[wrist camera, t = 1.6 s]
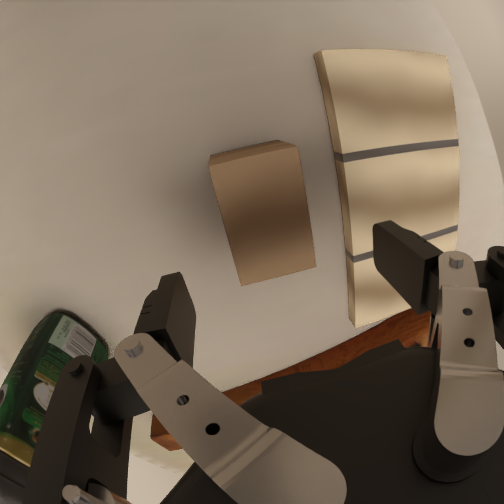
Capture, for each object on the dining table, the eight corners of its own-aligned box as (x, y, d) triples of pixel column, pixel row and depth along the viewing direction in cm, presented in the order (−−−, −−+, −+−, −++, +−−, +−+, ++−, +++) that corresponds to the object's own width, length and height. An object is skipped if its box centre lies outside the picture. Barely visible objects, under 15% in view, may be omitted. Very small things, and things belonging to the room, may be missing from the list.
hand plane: (430, 279, 25) (491, 339, 16) (434, 312, 28) (484, 370, 19) (151, 410, 29) (143, 483, 20) (178, 429, 31) (177, 497, 22)
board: (313, 54, 16) (321, 50, 14) (434, 56, 16) (445, 55, 14) (349, 318, 25) (355, 328, 24) (440, 284, 25) (448, 291, 24)
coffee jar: (77, 383, 26) (40, 526, 9) (24, 338, 23) (-40, 478, 6) (124, 351, 24) (88, 541, 8) (61, 295, 21) (-31, 482, 4)
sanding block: (210, 155, 18) (208, 166, 14) (277, 139, 18) (297, 146, 14) (235, 249, 21) (241, 286, 17) (295, 234, 21) (316, 266, 17)
